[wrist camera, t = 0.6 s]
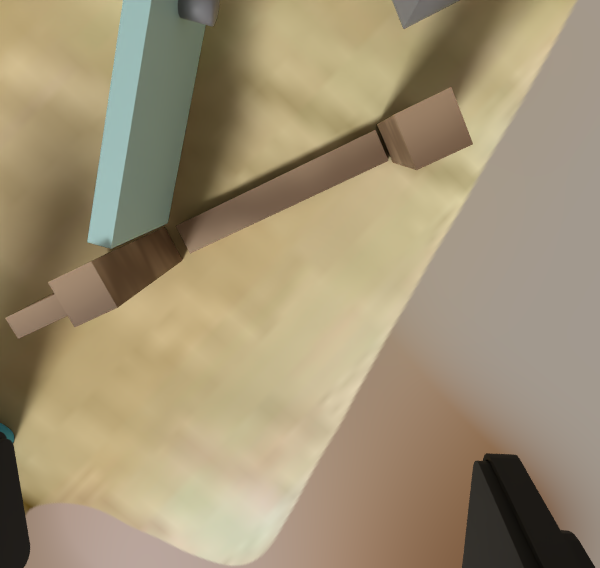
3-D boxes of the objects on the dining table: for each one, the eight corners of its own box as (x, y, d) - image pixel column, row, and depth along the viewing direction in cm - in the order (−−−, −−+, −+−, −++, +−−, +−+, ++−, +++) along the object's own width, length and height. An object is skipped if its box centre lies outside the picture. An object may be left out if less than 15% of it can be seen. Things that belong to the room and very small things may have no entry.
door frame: (96, 260, 35) (-3, 306, 25) (414, 105, 31) (451, 86, 21) (114, 292, 36) (25, 350, 26) (430, 144, 32) (472, 144, 21)
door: (149, 218, 33) (87, 242, 25) (191, -12, 29) (133, -73, 21) (191, 229, 33) (142, 257, 25) (238, 0, 29) (199, -55, 21)
